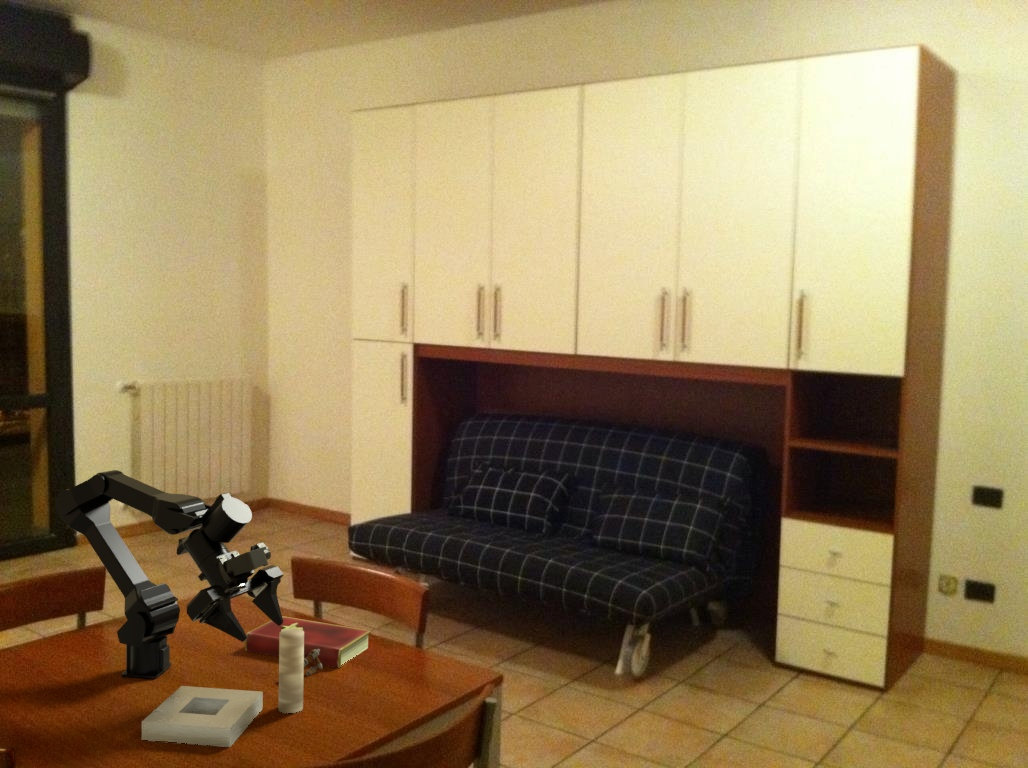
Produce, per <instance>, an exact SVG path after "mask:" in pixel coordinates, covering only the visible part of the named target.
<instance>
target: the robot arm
mask: <svg viewBox="0 0 1028 768" xmlns="http://www.w3.org/2000/svg"><path fill="white" fill-rule="evenodd" d="M113 500H115V501H117V502H119V503H121V504H124V505H126V506H128V507H130V508H132V509H134V510H137V511H139V512H142V513H144V514H146V515H148V516H149V517H151V519H152V522H153V523H154V525H155V526H156V527H158V528H159V529H161V530H162V531H163V532H165V533H167V534H168V535H172V536H175V535H178V534H182V533H186V532H189V531H190V533H189V534H188V535H187V536H186V537H181V538H179V539H178V544H177V548H176V555H177V556H181V555H184V554H188V555H189V556H190V558H191V560H193V562H194V563H195V564H196V567H197V568H198V569H199V571H200V572H201V573H199V575H198V576H197V578H198V579H199V581H200V582H202V581H203V582H204V581H205V580H206V582H207V583H208V584H209V585H210V586H208V587H205V588H202V589H200V590H199V592H198V593H196V595H195V596H194V597H193V598H192V599H191V600H190V601H189V602H188V603H187V604H186V614H187V616H188V617H189V618H190V620H191V622H192V623H194V622H196V621H198V622H199V624H205V625H208V626H210V627H211V628H215V629H218V631H221V632H223V633H225V634H227V635H229V636H230V637H233V638H234V639H236V640H238V641H240V642H243V643H245V640H246V639H247V636H246V631H245V630H244V628H243V626H242V625H241V624H240V622H239V620H238V619H237V617H236V615H235V614H234V612H233V610H232V605H231V603H232V602H231V599H234V598H237V597H240V596H242V595H245V594H247V595H248V597H251V598H253V600H251V602H252V604H254V605H255V606H256V607H257V608H258V609H259V610H260V611H261V612H262V613H264V615H265V616H267V618H268V619H269V620H270V621H271V620H272V621H273V622H274V623H276V624H277V625H278V626H280V625H281V624H282V623H283V618H282V616H283V615H282V612H281V611H282V610H281V607H280V603H279V598H278V593H277V591H278V585H280V583H281V582H282V577H284V576H285V575H284V573H283V571H282V570H281V569H280V568H279V566H278V565H273V564H272V565H269V560H270V559H271V557H272V554H271V550H270V549H269V547H268V546H267V545H266V544H265V543H264V542H263V541H261V542H259V543H257V544H255V545H251V546H250V550H249V551H247V552H244V553H242V554H240V553H239V551H238V550H234V551H230V550H229V548H228V547H227V546H226V543H227V544H228V543H230V542H232V541H233V540H234V539H235V538H236V537H237V536H238V535H239V534H240V533H241V531H242V530H243V529H244V528H246V526H248V525H249V523H250V522H251V520H252V518H253V512H252V510H251V509H250V506H249V505H248V504H246V503H245V502H243V501H242V500H240V499H238V498H236V497H233V496H231V494H230V492H224V493H220V494H219V495H218V496H217V497H216V498H215V501H214V502H213V503H212V504H207V503H205V501H204V500H203V499H201V498H200V497H198V496H194V495H188V494H184V493H169V492H165V491H163V490H161V489H158V488H156V487H154V486H152V485H149V484H146V483H144V482H142V481H140V480H137V479H135V478H133V477H131V476H129V475H126V474H125V473H123V471H121V470H117V469H112V470H107V471H102V472H98V473H96V474H94V475H93V476H91V477H90V478H88V479H87V480H85V481H83V482H81V483H79V484H77V485H75V486H73V487H71V488H67V489H64V490H63V489H62V490H61V491H60V492H59V493H58V495H57V497H56V499H55V501H54V502H55V503H54V504H55V505H54V508H55V512H56V514H57V515H58V516H59V518H60V519H61V520H62V521H63V523H65V525H66V526H67V528H70V529H72V530H74V531H75V532H77V533H79V534H81V535H83V536H84V537H85V538H86V540H87V542H88V543H89V544H90V546H91V547H92V549H93V551H94V552H95V554H96V555H97V556H98V558H99V560H100V561H101V563H102V564H103V566H104V568H105V570H107V573H108V574H109V575H110V577H111V579H112V580H113V582H114V583H115V585H116V586H117V588H118V589H119V591H120V592H121V594H122V596H123V598H124V616H125V617H126V621H125V622H124V623H123V624H122V626H120V627H119V629H117V631H116V634H117V638H118V642H119V643H120V644H123V645H126V646H125V649H126V651H125V652H126V653H125V654H126V655H125V656H126V657H125V659H126V662H125V663H126V667H125V668H126V669H125V670H124V671H122V672H121V677H128V678H139V679H140V678H141V679H143V678H144V679H157V678H159V676H161V675H162V674H163V673H164V672H165V671H167V670H168V669H170V668H171V666H172V663H171V662H170V656H171V655H170V653H171V652H170V645H169V644H168V635H172V634H174V633H175V629H176V626H177V624H178V623H179V618H180V612H181V608H180V606H179V603H178V601H179V599H178V597H176V596H175V595H174V594H173V592H172V590H171V588H170V586H169V585H168V584H167V583H166V582H162V583H160V584H156V583H153V582H151V580H149V578H148V576H147V575H146V573H145V571H143V569H142V567H141V566H140V564H139V562H138V561H137V560H136V558H135V556H134V555H133V554H132V552H131V550H130V549H129V548H128V546H127V544H126V543H125V541H124V540H123V538H122V537H121V535H120V534H119V533H118V531H117V528H115V526H114V524H113V523H112V521H111V504H110V502H112V501H113ZM261 567H263V568H261ZM258 568H259V570H257V569H258ZM255 570H257V572H256V573H255ZM249 577H251V578H249ZM248 578H249V579H248Z"/></svg>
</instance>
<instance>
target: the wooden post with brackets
mask: <svg viewBox="0 0 1028 768" xmlns="http://www.w3.org/2000/svg"><path fill="white" fill-rule="evenodd" d="M319 652H320V649H317V650H316V649H314V650H312V651H311V653H309V654H310V655H309V656H307V657H306V658H305V659H304V668H305V667H306V666H307V665H309V662H310V661H312V662H315V663H316V664H315V666H313V667H312V666H310V668H309V669H307V670H305V672H306V673H305V676H306V675H307V676H306V677H308V676H312V675H313V674H316V670H319V671H322V670H324V668H323V665H322V664H321V662H320V661H319V659H318V657H317V656H318V655H319ZM312 659H315V661H313V660H312ZM317 668H318V669H317Z"/></svg>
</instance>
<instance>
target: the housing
mask: <svg viewBox="0 0 1028 768" xmlns="http://www.w3.org/2000/svg"><path fill="white" fill-rule="evenodd" d="M263 692H264V691H259V690H258V691H256V690H243V689H228V688H217V687H201V686H188V685H180V686H179V688H177V690H175V691H174V692H173V693H172V694H171V695H169V697H167V699H165V700H164V701H163V702H162V703H161V704H160V705H158V707H156V708H155V709H154V710H153V711H152V712H151V713H149V714H148V715H147V716H146V717H145V718H144V719H142V720H141V741H142V740H148V741H147V742H155V741H168V742H177V743H176V744H181V743H185V744H186V743H187V744H186V745H194V746H195V744H196V745H197V744H198V745H197V746H207V745H208V747H220V748H221V747H222V748H231V747H232V745H233V744H234V743H236V741H237V740H238V739H239V738H240V736H241V735H242V734H243V733H244V731H246V729H247V728H248V727H249V726H250V724H251V723H252V722H253V721H254V720H255V719H254V718H257V716H258V715H259V714H260V713H261V711H262V710H263V708H264V707H263V702H264V701H263V695H264V693H263ZM259 712H260V713H259ZM253 719H254V720H253ZM248 725H249V726H248ZM168 742H167V743H168ZM185 744H184V745H185ZM209 745H210V746H209Z"/></svg>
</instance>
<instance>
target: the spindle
mask: <svg viewBox="0 0 1028 768" xmlns="http://www.w3.org/2000/svg"><path fill="white" fill-rule="evenodd" d="M278 663H279V664H278V712H280V713H281V712H282V713H281V714H286V713H287V715H289V714H288V713H293V714H297V713H300V712H301V711H303V709H304V674H305V672H304V671H305V669H304V668H305V667H304V631H303V630H300V629H287V630H283V631H281V632H280V635H279V657H278ZM299 711H300V712H299ZM296 712H297V713H296Z"/></svg>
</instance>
